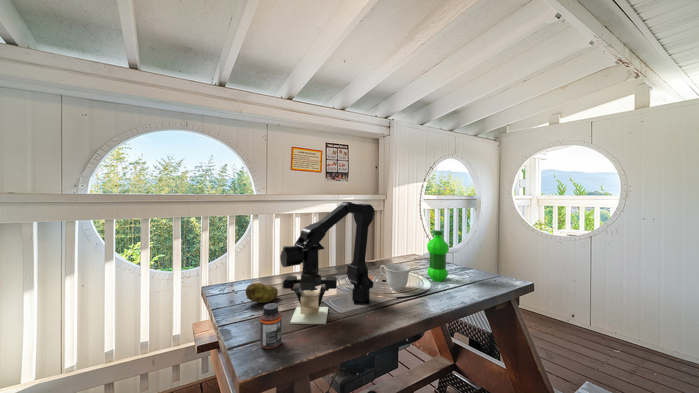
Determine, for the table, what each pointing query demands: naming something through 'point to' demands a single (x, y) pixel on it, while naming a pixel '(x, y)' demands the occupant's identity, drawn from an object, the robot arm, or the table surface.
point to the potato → (261, 292)
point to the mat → (310, 317)
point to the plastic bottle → (437, 257)
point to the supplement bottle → (270, 326)
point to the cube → (310, 302)
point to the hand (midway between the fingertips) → (310, 306)
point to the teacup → (396, 275)
